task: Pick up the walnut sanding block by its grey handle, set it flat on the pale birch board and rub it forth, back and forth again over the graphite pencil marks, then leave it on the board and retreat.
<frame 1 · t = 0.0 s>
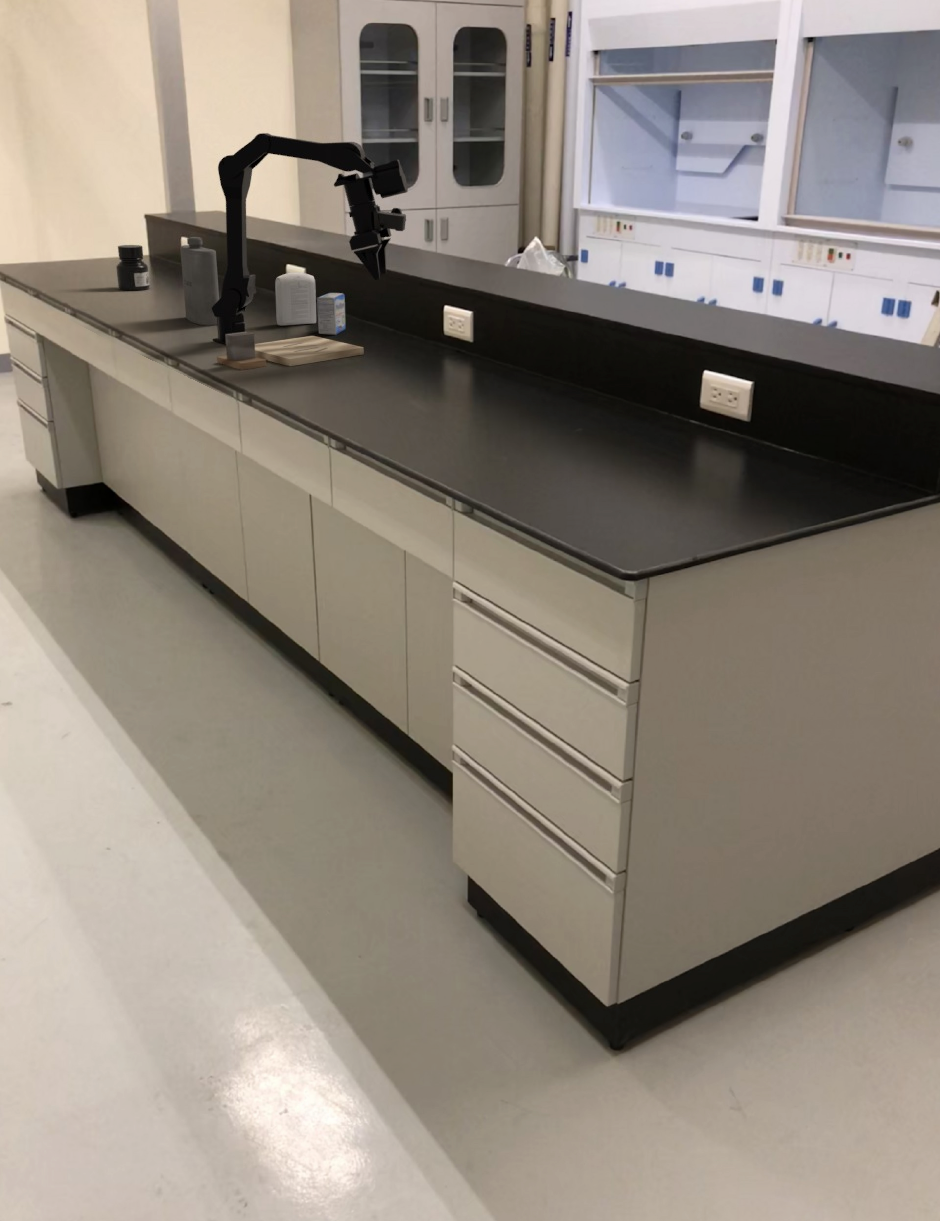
hand: (380, 276, 246), 15 cm above the worktop, tool pointing down, fingers open, 9 cm apart
white rectangular bottle: (296, 324, 278), on the worktop
ink bottle: (134, 289, 326), on the worktop
sanding board: (302, 353, 244), on the worktop
medicine box: (332, 332, 269), on the worktop
flask: (201, 321, 279), on the worktop
sanding block: (241, 365, 232), on the worktop
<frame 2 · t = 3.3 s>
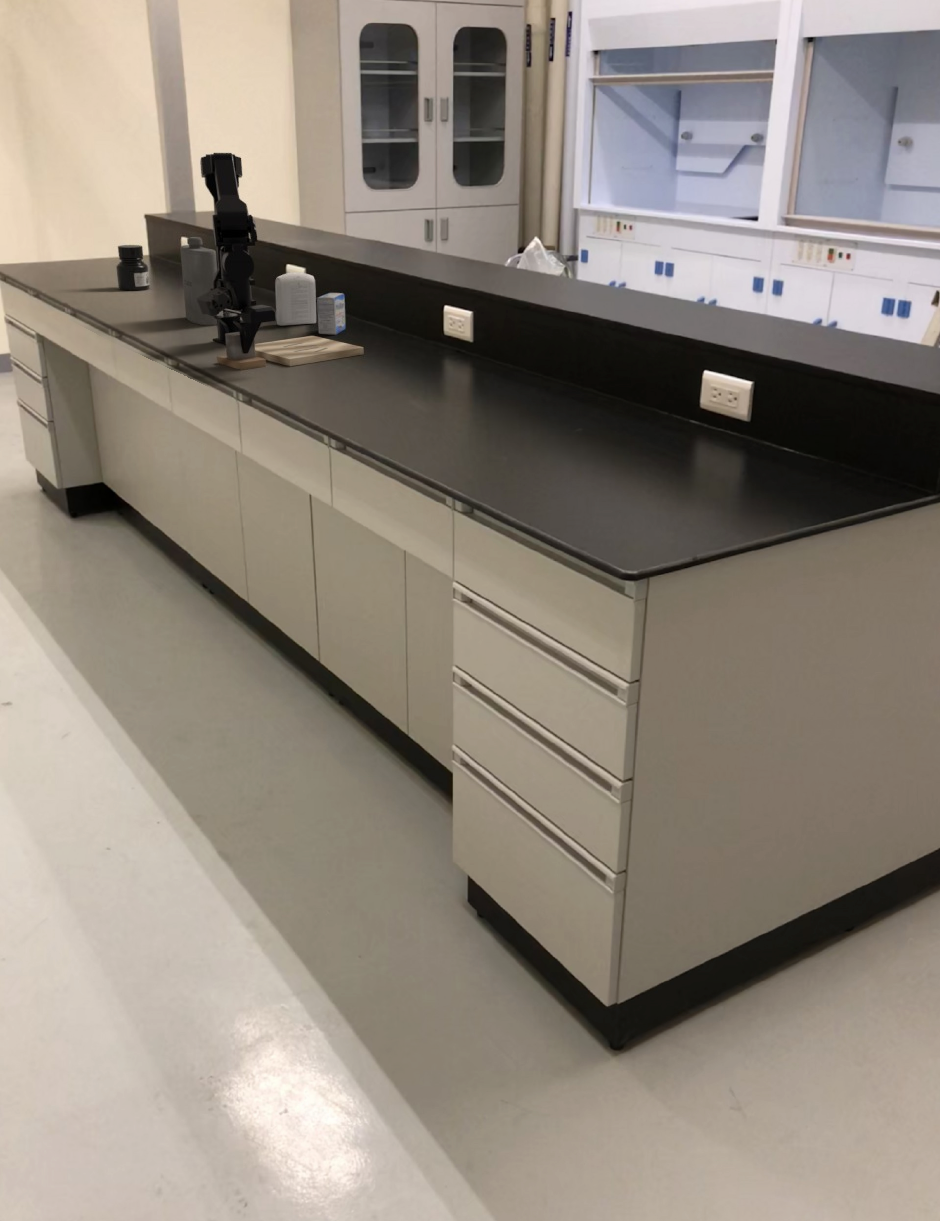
hand: (240, 352, 231), 3 cm above the worktop, tool pointing down, fingers closed on sanding block, 3 cm apart
sanding block: (241, 364, 232), on the worktop, touching gripper
everything else where it was.
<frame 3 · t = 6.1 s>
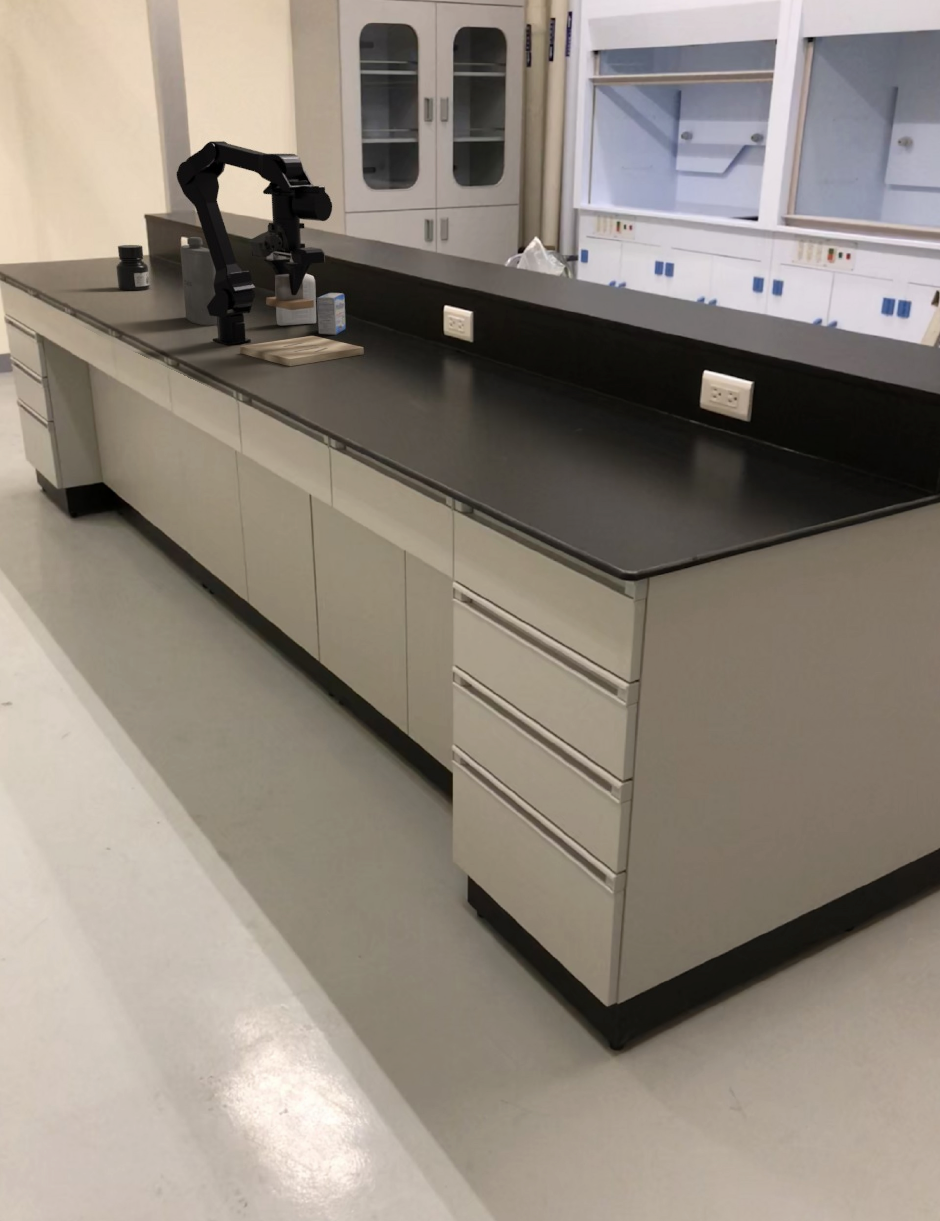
hand: (289, 293, 241), 12 cm above the worktop, tool pointing down, fingers closed on sanding block, 3 cm apart
sanding block: (290, 305, 242), point 10 cm above the worktop, touching gripper
everything else where it was.
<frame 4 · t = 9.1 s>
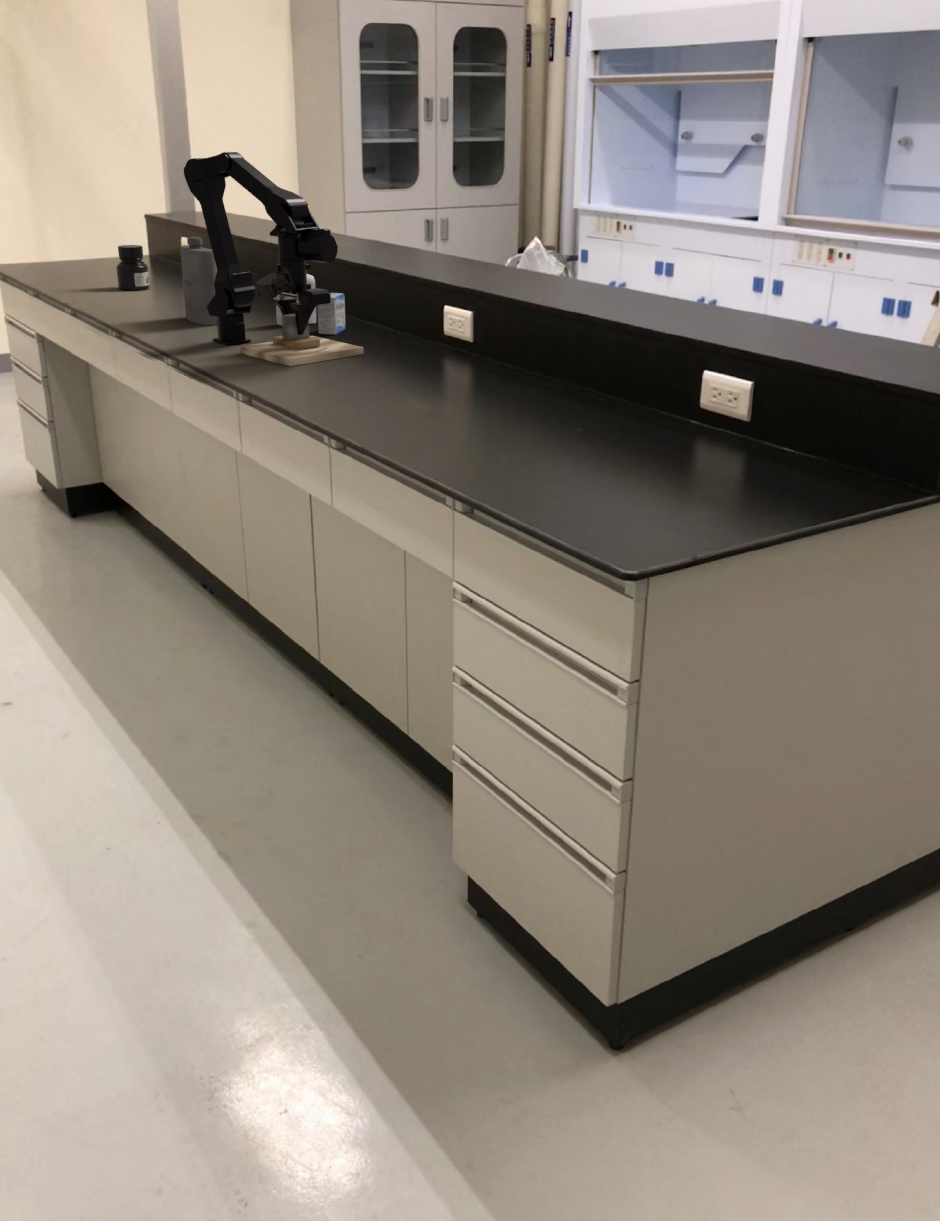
hand: (295, 333, 243), 4 cm above the worktop, tool pointing down, fingers closed on sanding block, 3 cm apart
sanding block: (296, 344, 244), point 2 cm above the worktop, touching gripper
everything else where it was.
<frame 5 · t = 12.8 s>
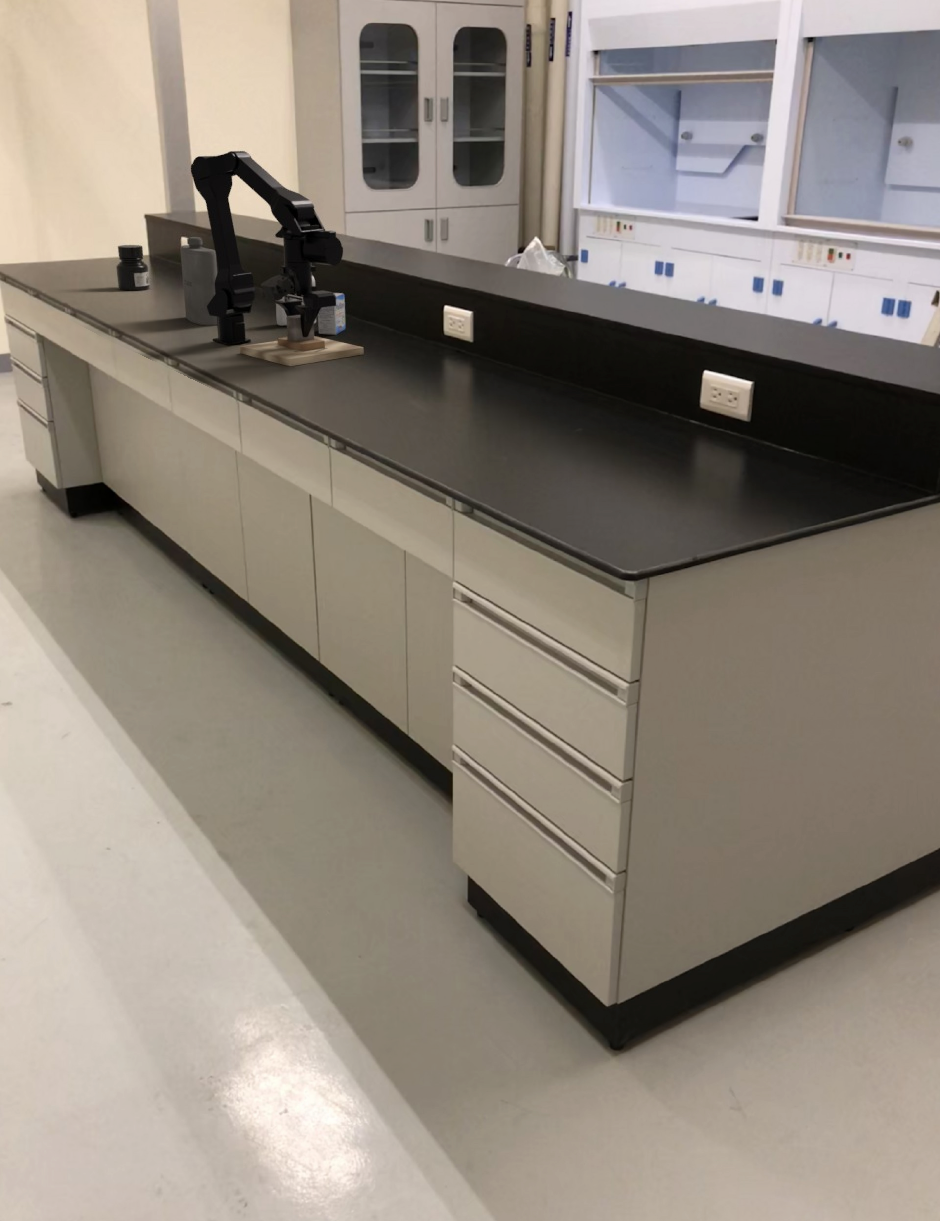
hand: (300, 335, 242), 4 cm above the worktop, tool pointing down, fingers closed on sanding block, 3 cm apart
sanding block: (301, 346, 243), point 2 cm above the worktop, touching gripper
everything else where it was.
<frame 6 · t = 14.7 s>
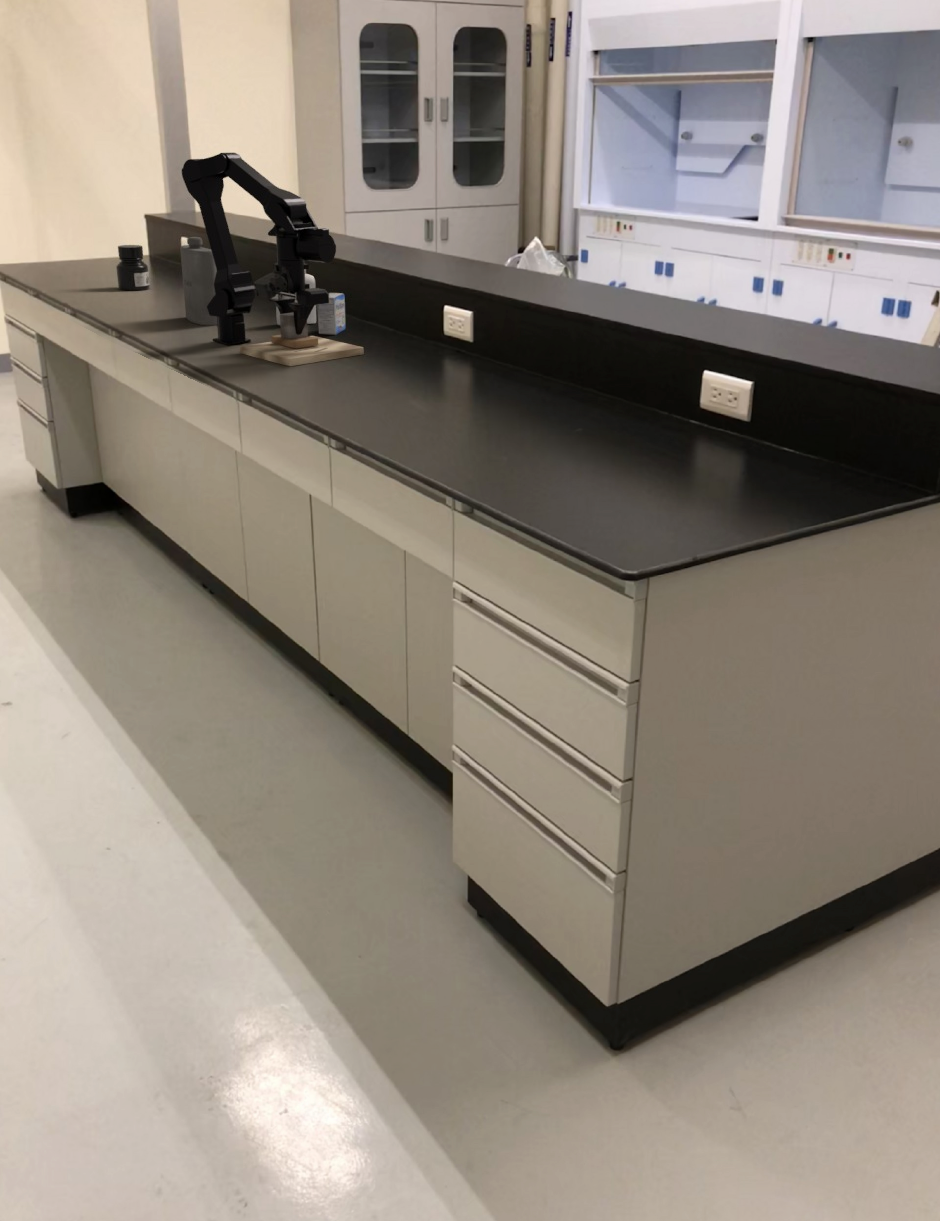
hand: (294, 333, 244), 4 cm above the worktop, tool pointing down, fingers closed on sanding block, 3 cm apart
sanding block: (294, 343, 245), point 2 cm above the worktop, touching gripper
everything else where it was.
when the fingers open (4 cm above the worktop, at t = 16.5 s): sanding block stays where it is, resting on sanding board.
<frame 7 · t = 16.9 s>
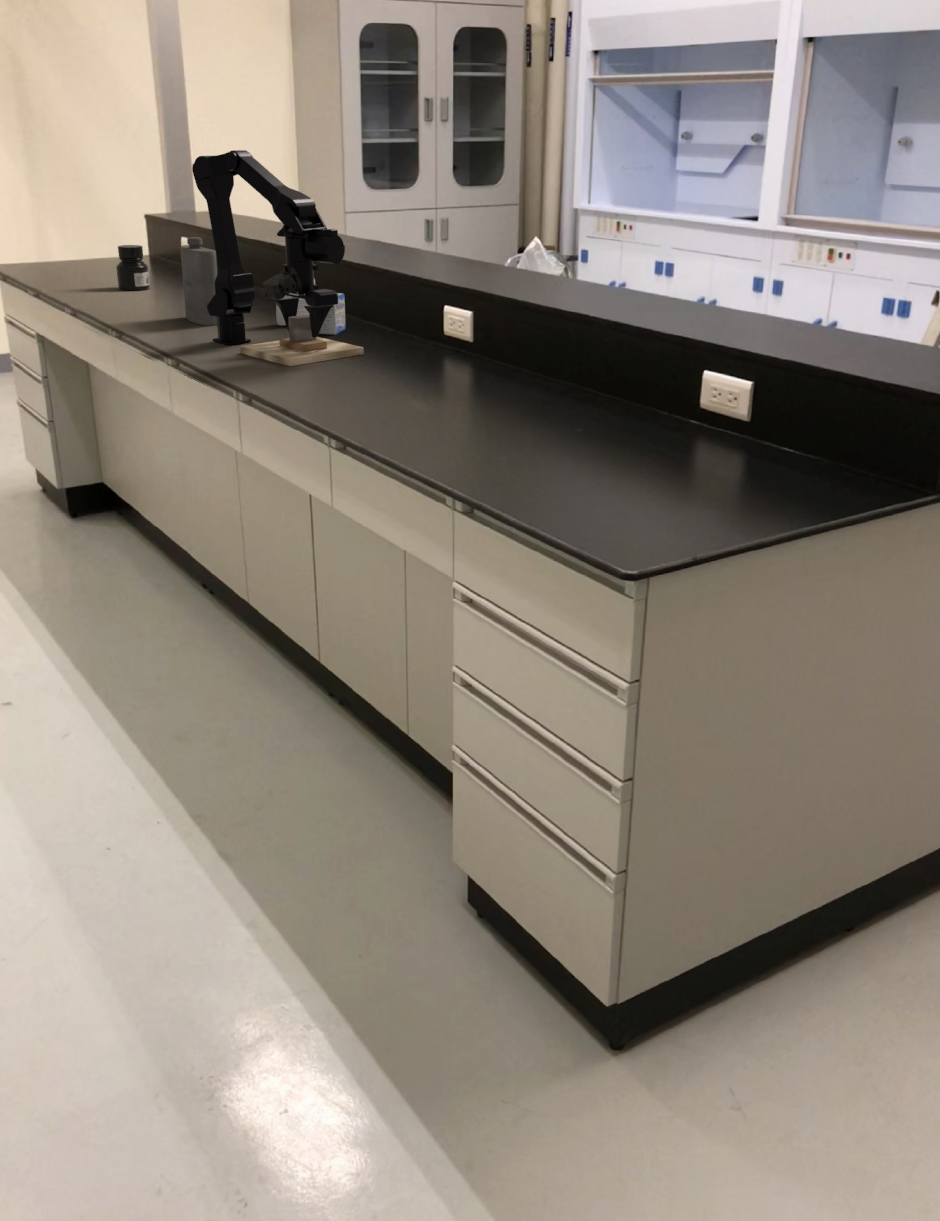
hand: (302, 334, 242), 4 cm above the worktop, tool pointing down, fingers open, 8 cm apart
sanding block: (303, 346, 243), point 2 cm above the worktop, touching sanding board
everything else where it was.
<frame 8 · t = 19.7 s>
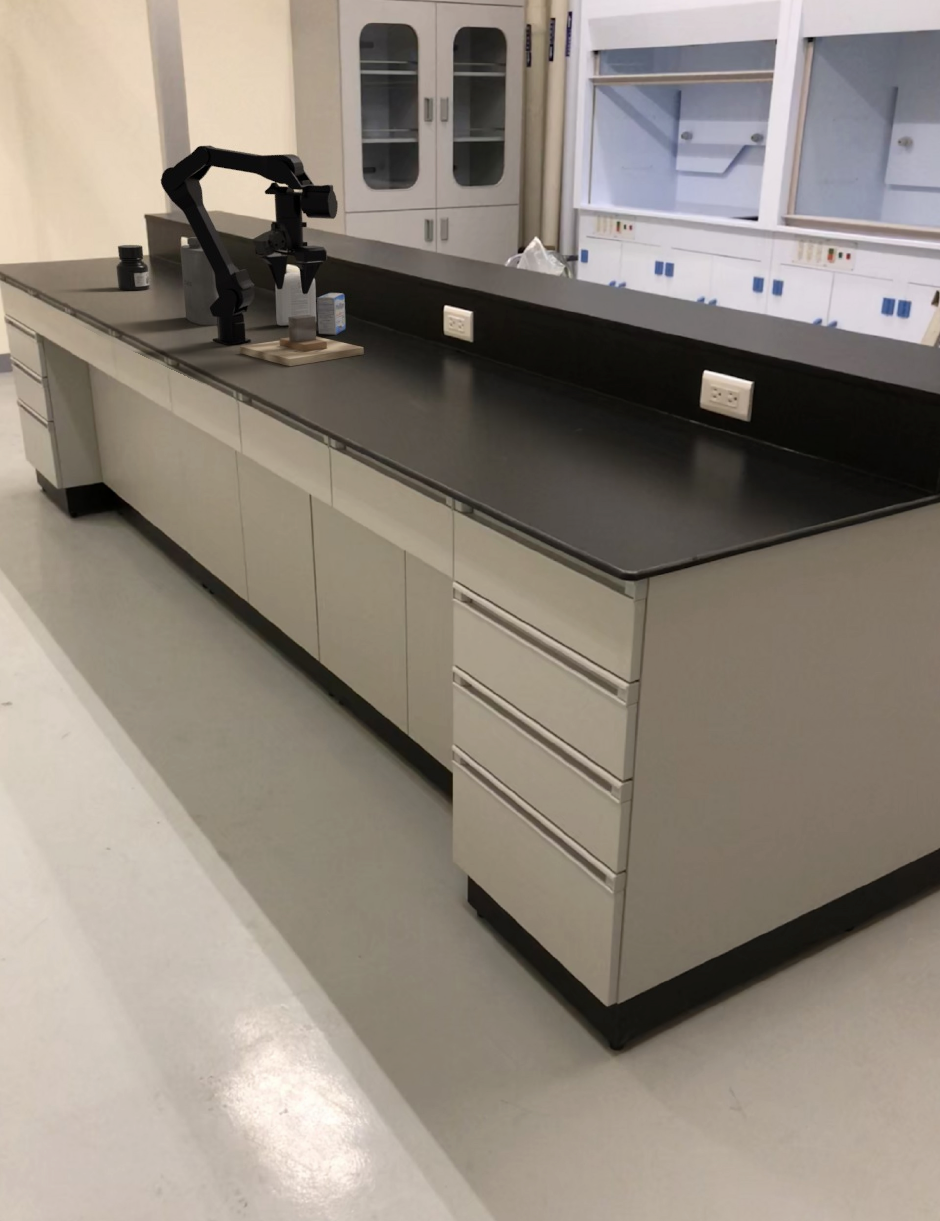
hand: (292, 291, 247), 12 cm above the worktop, tool pointing down, fingers open, 9 cm apart
nothing on the worktop moved.
at the end: sanding block inside the target area on the sanding board (0.1 cm from its centre), point 1.5 cm above the sanding board's base; sanding block tilted 0°; the gripper is holding nothing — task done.
